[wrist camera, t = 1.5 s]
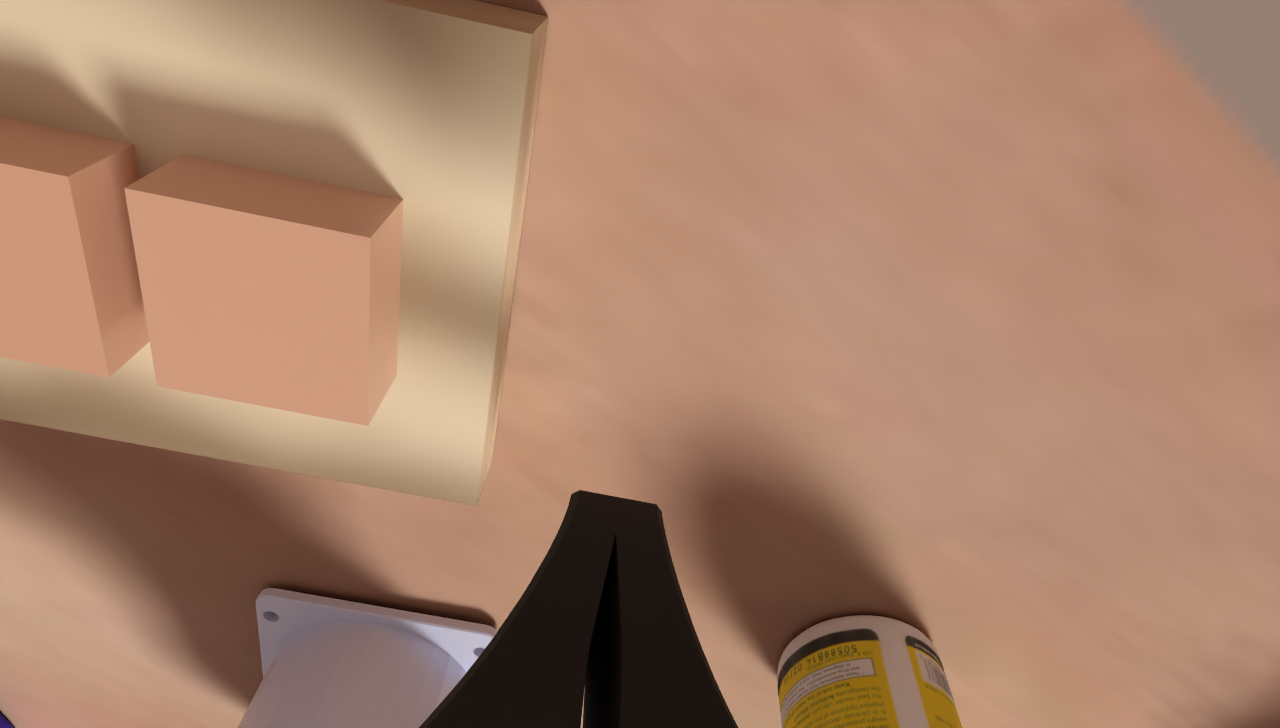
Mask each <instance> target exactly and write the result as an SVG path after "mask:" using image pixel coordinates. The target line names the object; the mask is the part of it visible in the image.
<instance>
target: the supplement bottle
mask: <svg viewBox="0 0 1280 728" xmlns="http://www.w3.org/2000/svg"><path fill="white" fill-rule="evenodd" d="M777 678H778V695H779V704H780V712H781V721H782V728H962V726H961V722H960V719H959V716H958V713H957V710H956V706H955V703H954V700H953V697H952V694H951V691H950V688H949V684H948V681H947V678H946V675H945V672H944V669H943V666H942V663H941V660H940V658H939V656H938V653H937V651H936V649H935V647H934V646H933V644H932V643H931V641H930V640H929V639H928V638H927V637H926V636H925V635H924V634H923V633H922V632H920V631H919V630H918V629H916V628H914V627H913V626H910V625H908V624H906V623H904V622H901V621H898V620H895V619H891V618H887V617H881V616H871V615H857V616H846V617H840V618H835V619H830V620H827V621H824V622H821V623H818V624H816V625H814V626H812V627H810V628H808V629H807V630H805V631H804V632H802V633H801V634H799V635H798V636H797V637H796V638H794V639H793V640H792V641H791V642H790V643H789V645H788V646H787V647H786V648H785V650H784V652H783V654H782V656H781V658H780V661H779V665H778V673H777Z"/></svg>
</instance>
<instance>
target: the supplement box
mask: <svg viewBox="0 0 1280 728" xmlns="http://www.w3.org/2000/svg"><path fill="white" fill-rule="evenodd" d="M0 728H14V727H13V726H12V725H11V724H10V723H9V722H8V721H7V719H6V718H5V717H4V716H3V715H2V714H1V713H0Z"/></svg>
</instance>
